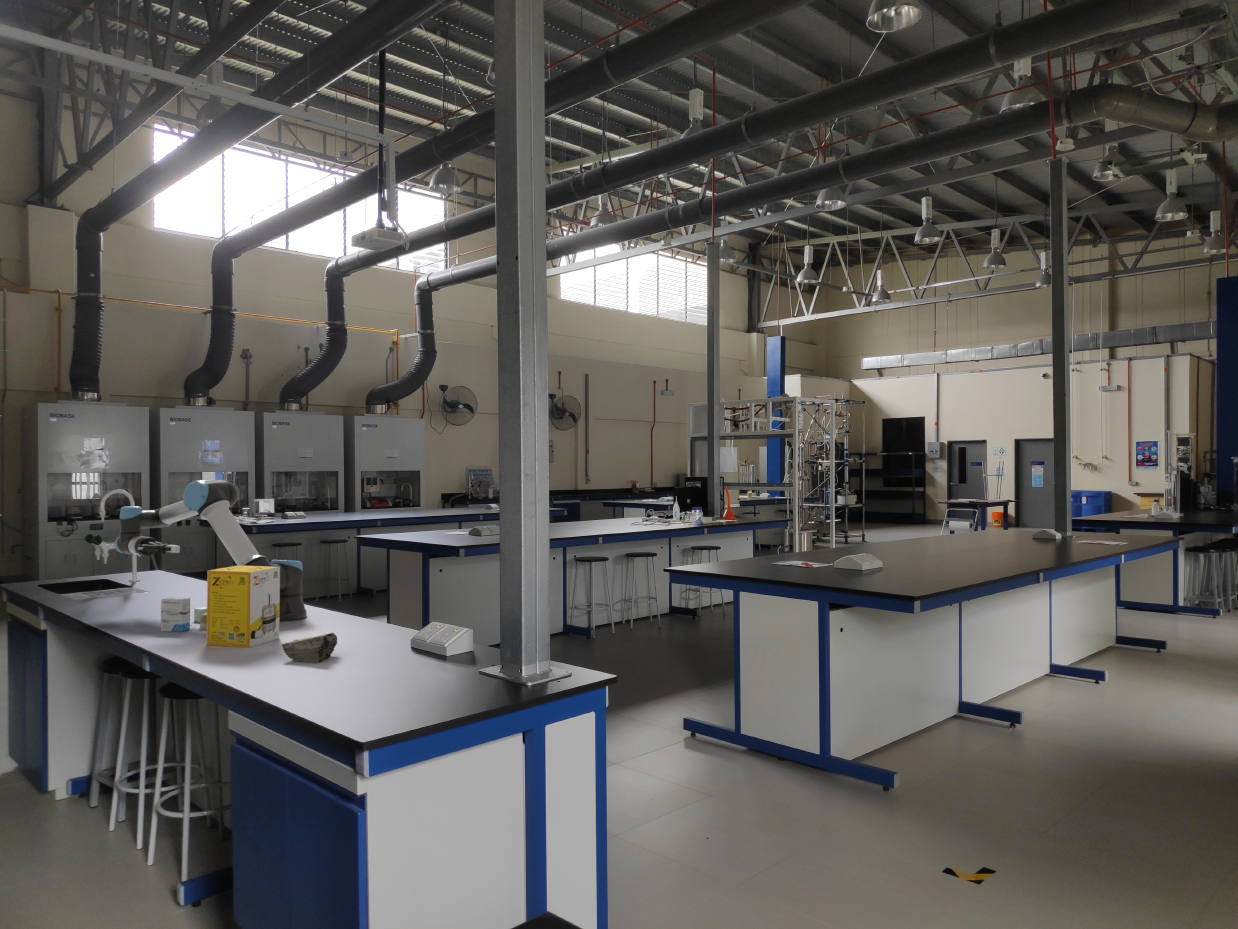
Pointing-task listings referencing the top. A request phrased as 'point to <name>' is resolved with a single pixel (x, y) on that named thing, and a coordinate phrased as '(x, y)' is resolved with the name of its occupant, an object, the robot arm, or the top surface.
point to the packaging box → (243, 605)
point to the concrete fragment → (311, 648)
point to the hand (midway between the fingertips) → (177, 549)
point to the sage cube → (199, 613)
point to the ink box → (175, 614)
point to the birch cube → (203, 621)
